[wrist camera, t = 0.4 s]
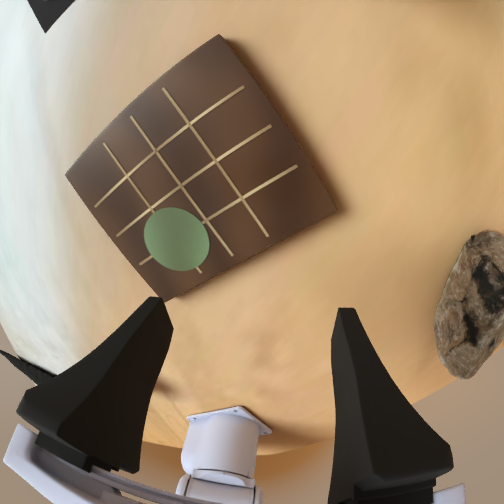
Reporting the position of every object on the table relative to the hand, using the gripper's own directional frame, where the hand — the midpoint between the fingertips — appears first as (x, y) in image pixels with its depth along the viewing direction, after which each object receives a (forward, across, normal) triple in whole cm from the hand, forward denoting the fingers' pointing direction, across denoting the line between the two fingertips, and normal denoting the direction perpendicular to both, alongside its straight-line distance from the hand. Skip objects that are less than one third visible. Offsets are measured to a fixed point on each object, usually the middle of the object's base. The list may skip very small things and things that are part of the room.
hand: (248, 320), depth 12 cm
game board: (+11, +6, -2) cm, 12 cm away
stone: (+10, -18, +7) cm, 22 cm away
